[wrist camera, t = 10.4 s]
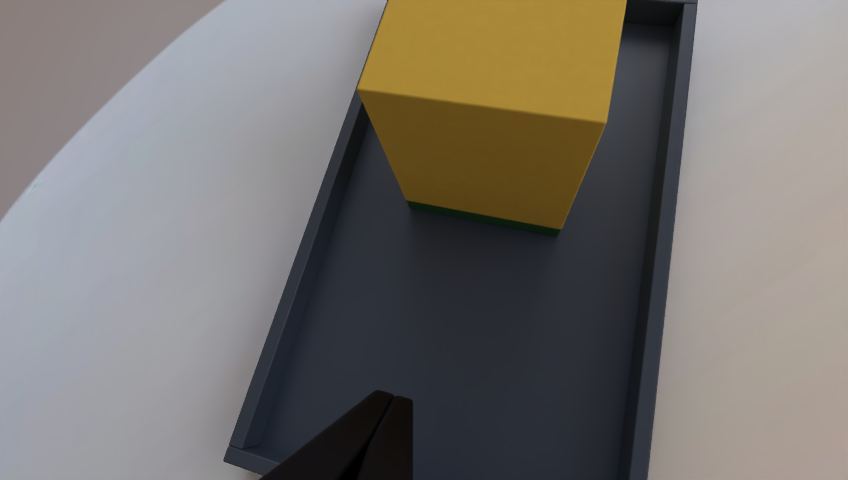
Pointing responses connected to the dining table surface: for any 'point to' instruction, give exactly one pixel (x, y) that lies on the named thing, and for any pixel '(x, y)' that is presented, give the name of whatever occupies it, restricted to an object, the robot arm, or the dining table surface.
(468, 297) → the tray
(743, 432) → the dining table surface
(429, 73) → the sponge
